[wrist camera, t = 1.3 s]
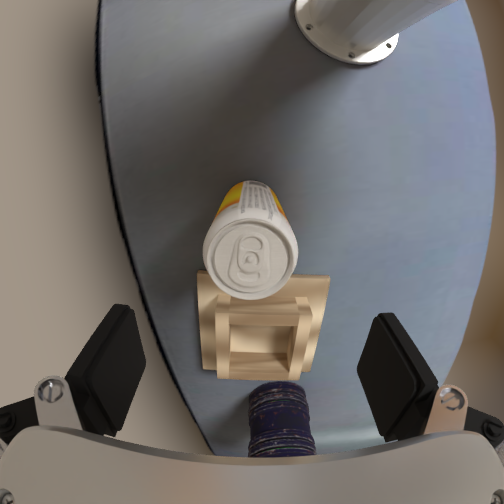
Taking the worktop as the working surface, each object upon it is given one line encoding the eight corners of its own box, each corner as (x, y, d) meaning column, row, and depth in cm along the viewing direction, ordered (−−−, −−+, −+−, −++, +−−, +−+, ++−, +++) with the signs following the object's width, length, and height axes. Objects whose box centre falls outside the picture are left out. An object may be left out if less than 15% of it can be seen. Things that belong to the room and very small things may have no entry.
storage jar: (236, 393, 42) (233, 470, 28) (288, 372, 40) (299, 454, 26) (267, 419, 45) (271, 487, 31) (315, 400, 43) (329, 471, 29)
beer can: (221, 230, 32) (198, 300, 18) (225, 177, 29) (201, 207, 15) (274, 235, 32) (292, 308, 18) (281, 182, 30) (308, 218, 16)
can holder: (198, 270, 33) (190, 290, 29) (328, 275, 34) (339, 295, 29) (204, 364, 39) (199, 388, 35) (308, 367, 40) (313, 391, 35)
